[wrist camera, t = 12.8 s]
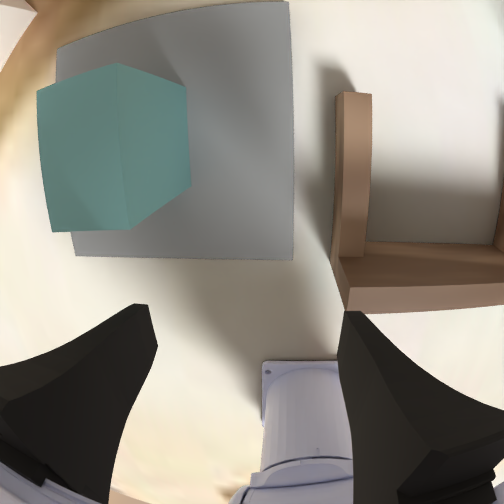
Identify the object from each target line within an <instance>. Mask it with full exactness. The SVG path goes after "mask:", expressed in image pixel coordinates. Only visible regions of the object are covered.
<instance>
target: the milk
mask: <svg viewBox="0 0 504 504" xmlns="http://www.w3.org/2000/svg"><path fill="white" fill-rule="evenodd" d="M36 14H37V12H36V11H35V10H34V9H33V8H32V7H31V6H30V5H29V4H28V3H27V2H26V1H25V0H0V72H1V70H2V68H3V66H4V64H5V63H6V61H7V59H8V57H9V56H10V54H11V52H12V51H13V49H14V47H15V46H16V44H17V42H18V41H19V39H20V38H21V36H22V35H23V33H24V32H25V30H26V29H27V27H28V26H29V24H30V23H31V21H32V20H33V19H34V17H35V16H36Z"/></svg>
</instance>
